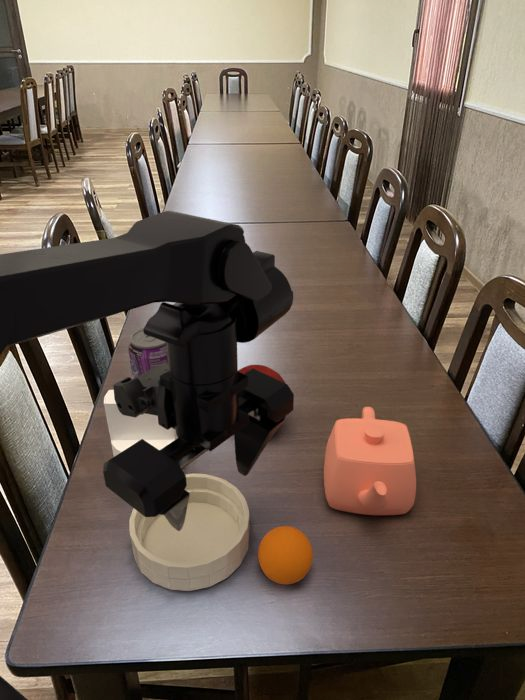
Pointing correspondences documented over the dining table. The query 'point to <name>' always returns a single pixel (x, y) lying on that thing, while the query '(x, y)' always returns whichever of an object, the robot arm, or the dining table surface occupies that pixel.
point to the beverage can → (145, 353)
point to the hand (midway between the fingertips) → (211, 499)
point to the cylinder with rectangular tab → (134, 428)
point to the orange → (285, 555)
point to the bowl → (194, 537)
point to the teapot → (370, 466)
